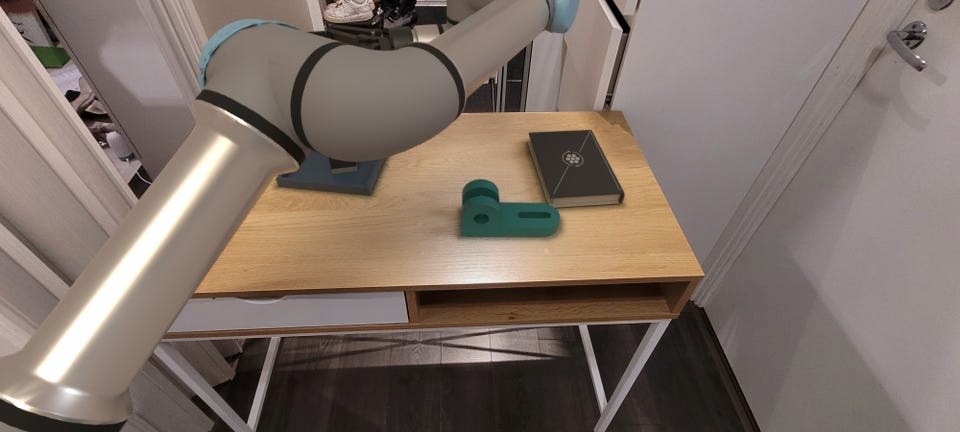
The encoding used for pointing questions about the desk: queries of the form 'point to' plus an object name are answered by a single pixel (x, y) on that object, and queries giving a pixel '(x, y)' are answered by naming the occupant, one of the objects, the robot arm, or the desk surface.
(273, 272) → the desk surface
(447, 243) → the desk surface
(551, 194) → the book
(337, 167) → the black tall block
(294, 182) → the tray
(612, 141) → the desk surface
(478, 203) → the bracket
